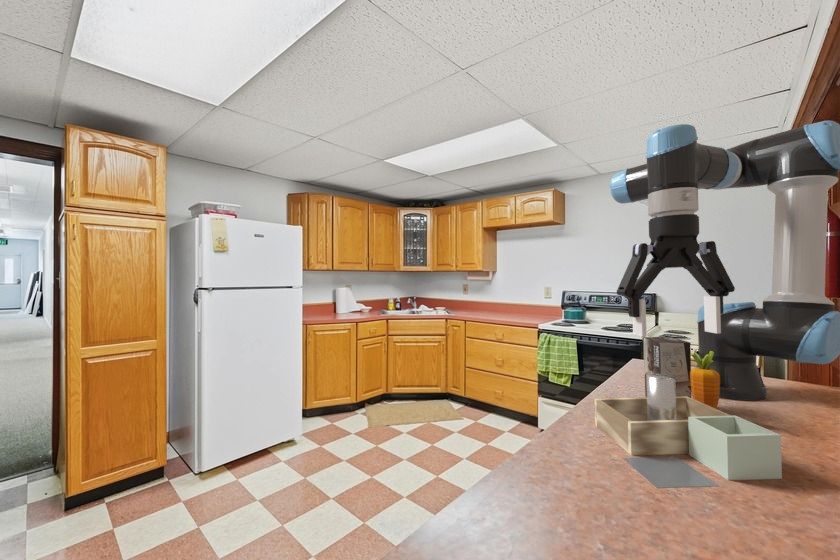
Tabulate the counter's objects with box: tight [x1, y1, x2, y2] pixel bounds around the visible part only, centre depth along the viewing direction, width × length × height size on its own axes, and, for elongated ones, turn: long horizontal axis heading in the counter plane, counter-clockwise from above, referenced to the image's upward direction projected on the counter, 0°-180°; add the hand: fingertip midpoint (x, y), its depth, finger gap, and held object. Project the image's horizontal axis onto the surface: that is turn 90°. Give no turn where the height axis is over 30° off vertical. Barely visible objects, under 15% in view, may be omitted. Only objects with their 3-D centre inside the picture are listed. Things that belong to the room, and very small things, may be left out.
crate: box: [594, 396, 732, 456], centre depth 71 cm, size 19×13×6 cm
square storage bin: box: [688, 415, 783, 481], centre depth 60 cm, size 8×8×7 cm
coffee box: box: [643, 336, 692, 398], centre depth 87 cm, size 9×6×16 cm
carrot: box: [690, 351, 720, 410], centre depth 78 cm, size 5×5×15 cm
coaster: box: [622, 456, 720, 489], centre depth 59 cm, size 9×9×1 cm
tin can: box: [646, 374, 677, 421], centre depth 71 cm, size 5×5×12 cm
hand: (676, 334), depth 68 cm, fingers open, 13 cm apart
